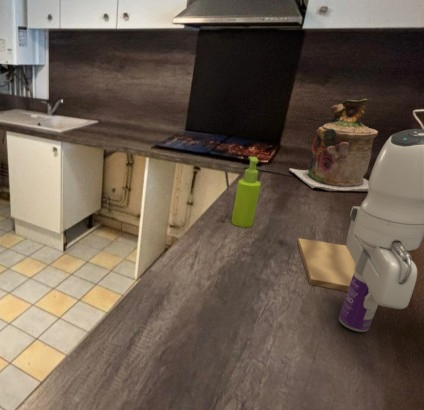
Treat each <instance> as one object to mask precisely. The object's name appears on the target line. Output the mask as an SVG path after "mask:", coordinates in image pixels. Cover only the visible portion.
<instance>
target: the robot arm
mask: <svg viewBox="0 0 424 410" xmlns="http://www.w3.org/2000/svg"><path fill="white" fill-rule="evenodd" d="M368 181H369V182H368V188H369V190H368V191H367V195H366V197H365V198H364V199H363V201H362V202H361V204H360V206H357V205H356V206H355V205H354V206H352V207H351V211H350V214H349V215H350V218H351V221H350V224H349V228H348V233H347V236H346V246H347V249H348V251H349V253H350V255H351V256H352V258H353V260H354V262H355V269H356V266H357V264H358V261H359V259H360V256H361V253H362V251H363V249H366V251H367V252H368V254H369V256H370V257H371V259H369V258H368V260H367V262H366V265H365V268H364V271H363V273H362V277H363V279H364V281H365V283H366V285H367V287H368V288H369V289H368V292H369V293H368V295H367V296H366V295H364V296H363V300H362V303H363V306H364V308H366V309H371V310H375V309H376V308H377V309H378V306H380V307H384V308H388V309H395V310H404V309H406V308H407V307H408V306H409V303H410V302H411V298H412V295H413V292H414V289H415V285H416V282H417V280H418V279H417V278H418V268H417V265H416V264H415V261H413V257H412V254H411V253H410V251H415V250H417V249H419V247H421V243H422V241H423V238H424V128H411V129H405V130H401V131H398V132H395V133H393V134H392V135H390V136H389V138H388V139H387V140H386V141H385V143H384V144H383V145H382V148H381V149H380V151H379V153H378V155H377V157H376V160H375V162H374V164H373V167H372V170H371V173H370V175H369V179H368ZM377 309H376V310H377Z"/></svg>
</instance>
